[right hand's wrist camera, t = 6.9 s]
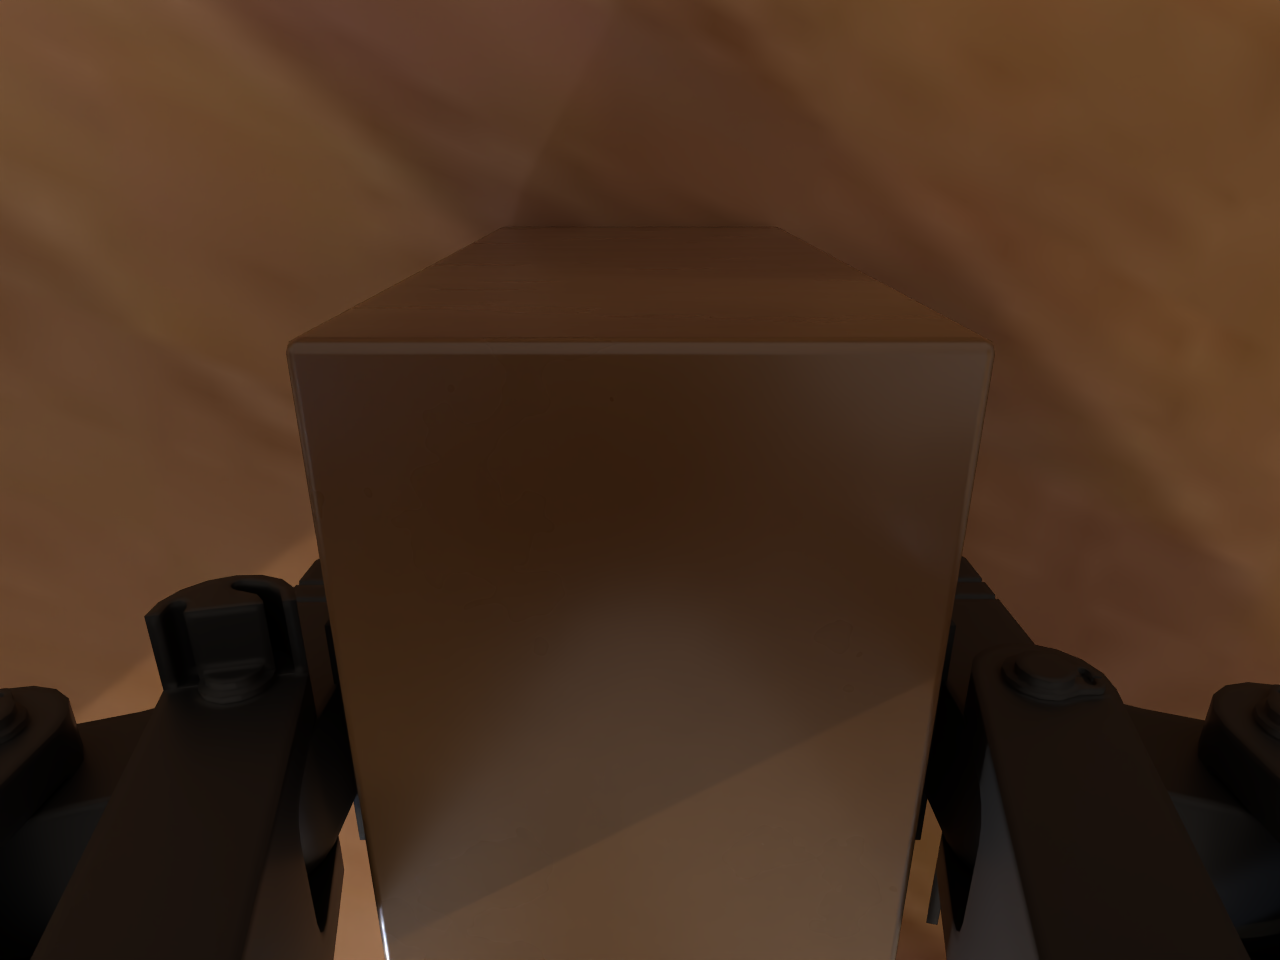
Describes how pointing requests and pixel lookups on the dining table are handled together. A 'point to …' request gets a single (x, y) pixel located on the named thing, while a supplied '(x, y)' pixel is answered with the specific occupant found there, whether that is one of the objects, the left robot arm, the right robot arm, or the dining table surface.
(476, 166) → the dining table surface
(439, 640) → the beam
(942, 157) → the dining table surface
